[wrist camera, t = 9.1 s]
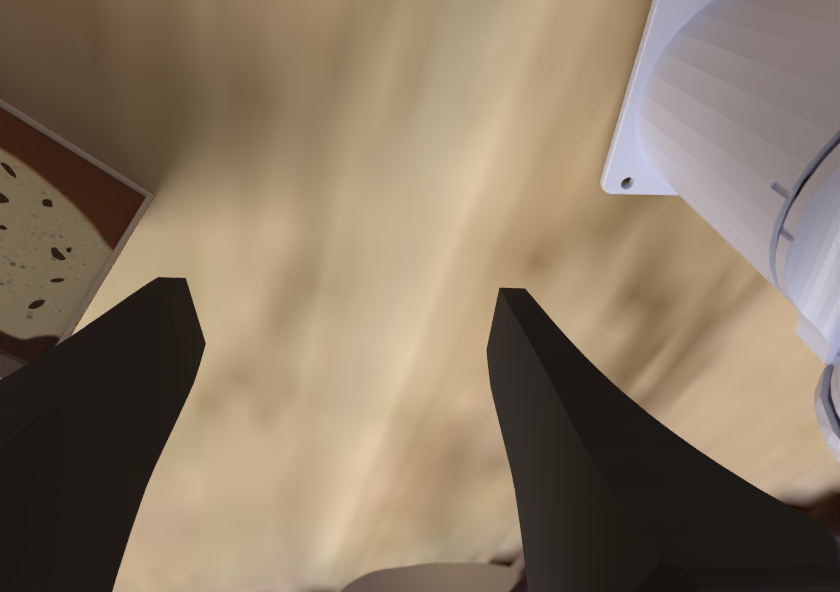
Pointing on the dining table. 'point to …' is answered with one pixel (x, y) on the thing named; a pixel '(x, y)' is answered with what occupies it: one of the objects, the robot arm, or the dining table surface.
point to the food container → (54, 234)
